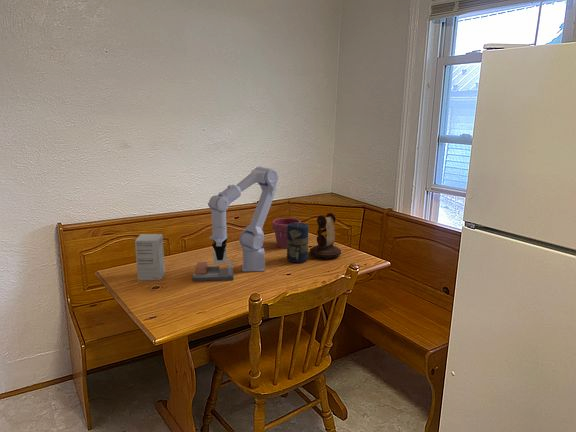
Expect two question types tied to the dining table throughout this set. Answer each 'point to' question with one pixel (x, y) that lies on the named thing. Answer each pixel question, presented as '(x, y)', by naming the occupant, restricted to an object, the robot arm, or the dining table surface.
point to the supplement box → (149, 256)
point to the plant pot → (282, 230)
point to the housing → (220, 260)
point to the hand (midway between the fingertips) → (220, 257)
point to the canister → (297, 242)
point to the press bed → (216, 273)
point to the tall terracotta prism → (201, 268)
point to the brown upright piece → (326, 238)
